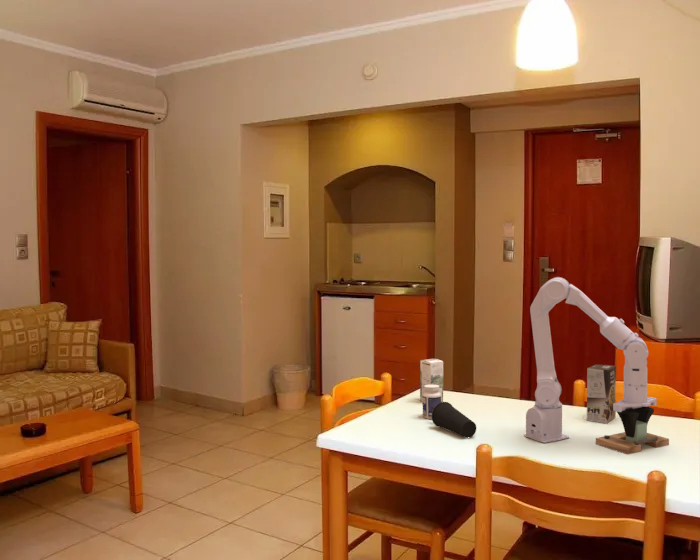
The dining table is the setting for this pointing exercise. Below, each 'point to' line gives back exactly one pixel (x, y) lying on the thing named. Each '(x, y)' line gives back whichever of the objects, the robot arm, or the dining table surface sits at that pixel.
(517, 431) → the dining table surface
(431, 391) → the pill bottle
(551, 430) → the robot arm
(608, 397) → the coffee box
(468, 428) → the drinking cup
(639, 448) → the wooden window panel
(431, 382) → the syrup box
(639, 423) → the green block
